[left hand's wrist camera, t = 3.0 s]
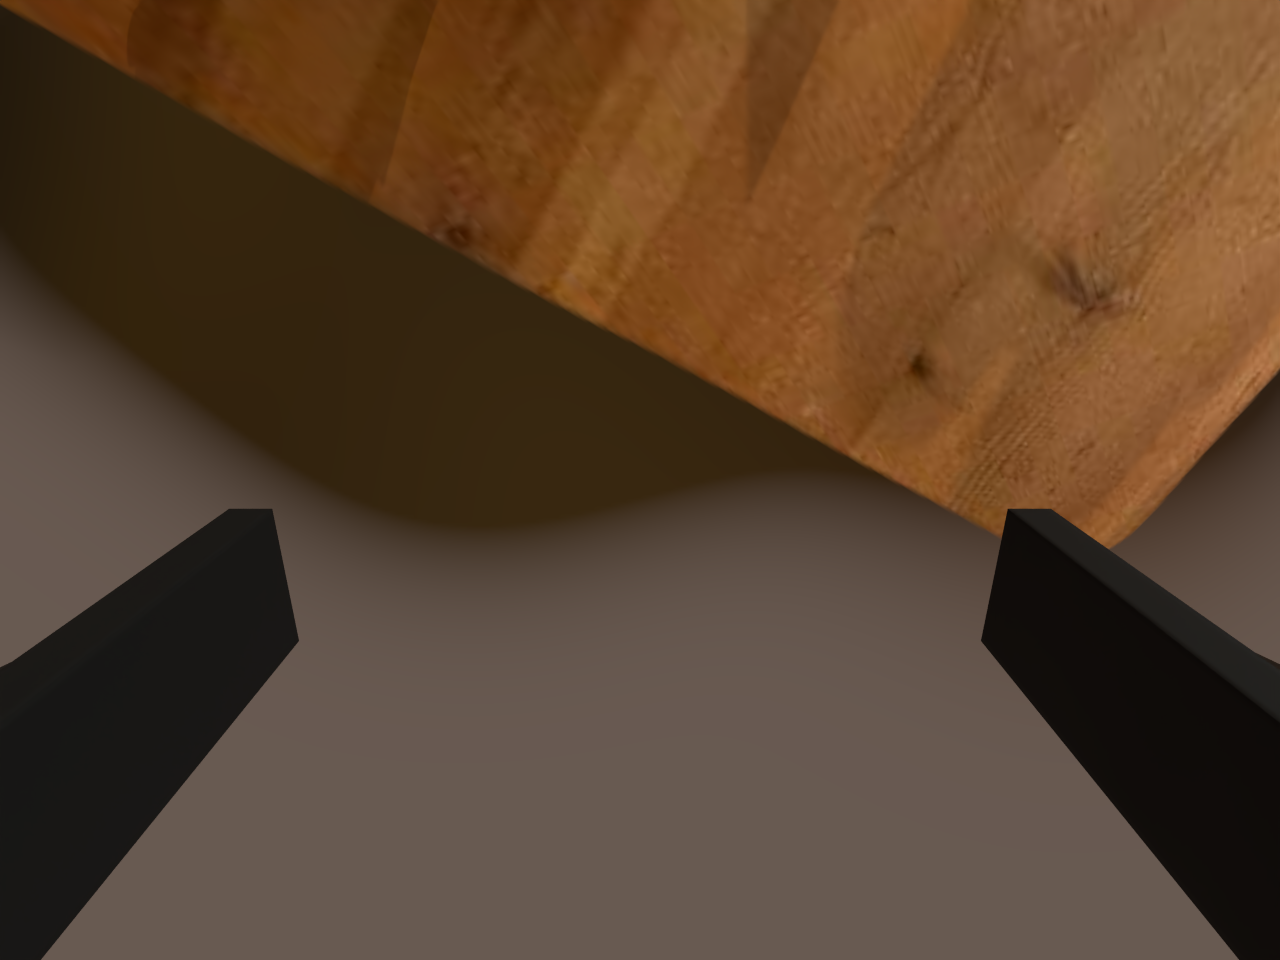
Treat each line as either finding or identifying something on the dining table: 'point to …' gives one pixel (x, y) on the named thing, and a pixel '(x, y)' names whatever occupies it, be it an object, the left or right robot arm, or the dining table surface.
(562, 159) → the dining table surface
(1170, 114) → the dining table surface
